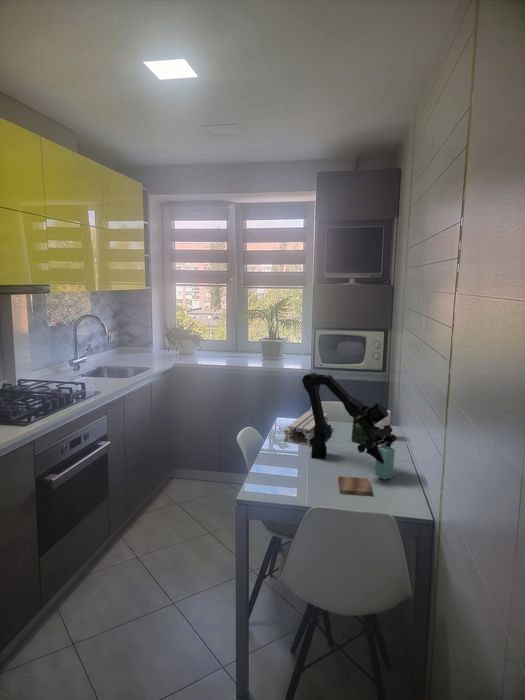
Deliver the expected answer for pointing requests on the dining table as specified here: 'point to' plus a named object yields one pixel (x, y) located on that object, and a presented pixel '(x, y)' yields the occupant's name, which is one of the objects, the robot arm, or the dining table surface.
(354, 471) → the dining table surface
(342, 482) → the walnut board
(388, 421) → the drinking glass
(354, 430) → the coffee jar
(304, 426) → the aluminum extrusion profile
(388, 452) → the teal block
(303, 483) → the dining table surface
